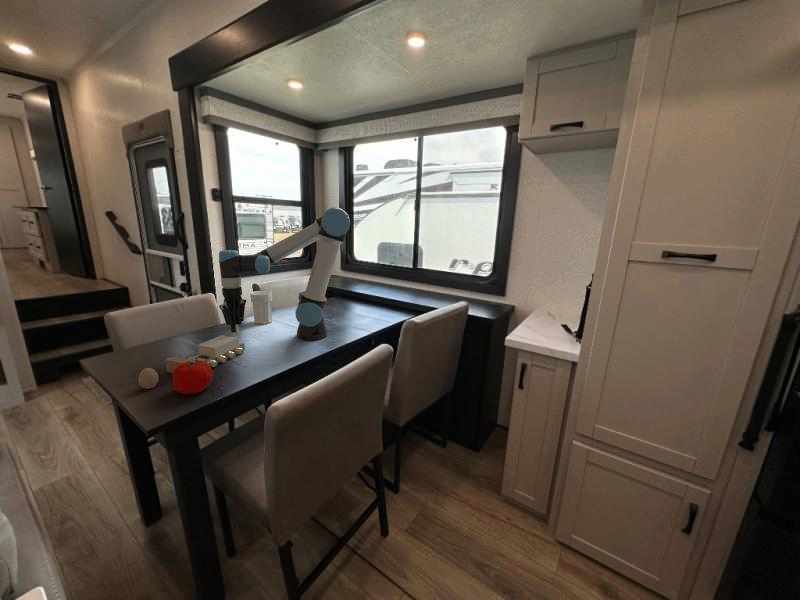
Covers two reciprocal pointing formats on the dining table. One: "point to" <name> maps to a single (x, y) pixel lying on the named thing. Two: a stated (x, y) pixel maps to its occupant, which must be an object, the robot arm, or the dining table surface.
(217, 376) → the dining table surface
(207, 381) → the tomato
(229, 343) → the paver
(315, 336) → the robot arm
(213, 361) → the rack with metal cylinders
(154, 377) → the egg
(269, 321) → the cup
